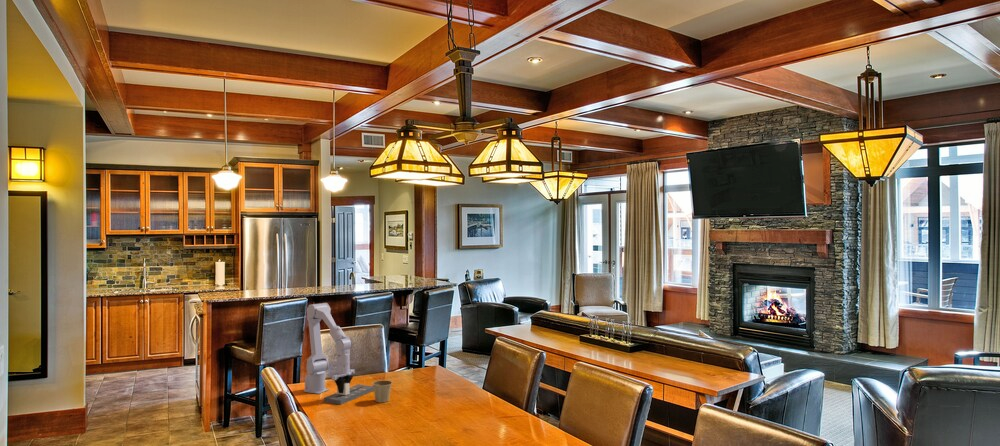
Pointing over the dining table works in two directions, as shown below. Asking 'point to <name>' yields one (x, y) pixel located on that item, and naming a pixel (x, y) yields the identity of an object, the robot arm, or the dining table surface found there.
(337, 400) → the console
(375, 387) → the flower pot
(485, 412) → the dining table surface
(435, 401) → the dining table surface
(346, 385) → the fader
